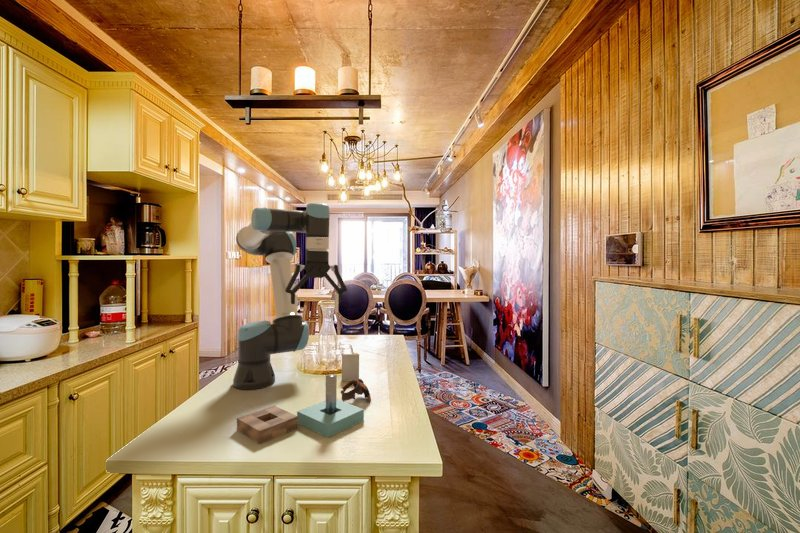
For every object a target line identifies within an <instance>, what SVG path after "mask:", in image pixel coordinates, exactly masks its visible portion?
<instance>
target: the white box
mask: <svg viewBox="0 0 800 533" xmlns="http://www.w3.org/2000/svg"><path fill="white" fill-rule="evenodd" d="M358 379H360V354H359V353H342V356H341V381H352V380H358Z"/></svg>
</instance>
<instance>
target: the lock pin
mask: <svg viewBox="0 0 800 533" xmlns="http://www.w3.org/2000/svg"><path fill="white" fill-rule="evenodd" d="M337 384H338V383H337V374H334V373H333V374H332V373H331V374H327V375H325V401H326V414H328V415H331V414H334V413H336V399H337Z"/></svg>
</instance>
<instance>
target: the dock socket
mask: <svg viewBox="0 0 800 533" xmlns="http://www.w3.org/2000/svg"><path fill="white" fill-rule="evenodd" d="M364 411H365V409H364V408H361V407H359V406H356V405H353V404H351V403H348V402H345V401H343V400H340V399H337V398H336V413H334V414H331V415H328V414H326V400H324V401H321V402H317V403H315V404H313V405H310V406H307V407H306V408H303V409H299V410H297V411H296V416H298V425H301V426H303V427H305V428H307V429H309V430H311V431H313V432H315V433H318V434H319V435H321V436H324V437H326V438H330V437H332V436H334V435H337V434H339V433H341V432H343V431H345V430H347V429H349V428H351V427H353V426H356V425H357V424H360V423H362V422H364V417H365V416H364V415H365V412H364Z"/></svg>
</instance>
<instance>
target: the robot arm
mask: <svg viewBox="0 0 800 533" xmlns="http://www.w3.org/2000/svg"><path fill="white" fill-rule="evenodd" d="M330 217H331V214H330V206H329V205H328V204H326V203H320V202H319V203H318V202H310V203H307V205H306V209H305V210H295V209H294V210H293V209H282V208H281V209H279V208H278V209H277V208H269V207H268V208H267V207H255V208H254V209H253V210H252V213H251V218H250V219H251V222H250V224H248V226H245V227H241V229H240V230H239V231H237V233H236V236H235V240H236V244H237V247H238V248H239V249H241V251H243V252H244V253H246V254H248V255H253V256H263V257H264V258H265V261H266V262H267V263H268V264H269V268H270V275H271V284H272V293H273V301H274V310H275V317H274V318H273V319H272V324H271V322H270V321H269V320H256V321H251V322H248V323H245V324H243V325H241V326H239V328H238V332H237V359H238V360H237V367H236V369H235V370H236V371H235V373H234V376H233V379H232V386H233V387H234V388H235V389H238V390H250V391H251V390H257V389H259V390H260V389H263V388H267V387H269V386H272V385H273V384H274V383H275V382H276V375H275V371H274V369H273V366H272V363H271V355H274V354H275V355H277V354H283V353H290V352H293V353H294V352H297V351H302V350H305V349H306V347H307V345H308V343H309V340H310V339H309V338H310V326H309V323H308V321H306V320H303V316H302V314H300V313H299V312H298V294H297V292H298V291H299V290H300V289H301V287H302V286H303V285H304V284H305V283H306V281H308V280H309V279H310V278H312V279H317V278H318V279H322V278H325V280H326V281H328V283H329V284H330V285H331V287H332V288H333V289H334V290H335V291H336V292H334V313H336V314H339V304H340V303H342V294H344V293H346V292H348V288H347V286H346V285H345V281H344V280H343V278H342V276H341V273H340V271H339V265H337V264H331V265H330V264H329V262H330V261H329V258H330V257H329V256H330V255H329V253H330V252H329V251H328V250H329V249H330V248H329V247H330V246H329V245H330V236H329V235H330ZM294 233H302V234H303V233H304V234H305V250H306V251H305V263H304V264H299V263H297V264H295V270H294V273H293V272H292V264H291V261H292V260H293V258H294V256H295V255H296V253H297V239H296V236H295V234H294ZM302 270H305V272H306V273H304V275H303V277H302V278H301V279H300V280H299V281H298V282H297V283H296V284H295V285H294V283H295V282H296V280H297V279H298V276H299V274H300V273H301V272H302ZM330 270H331V272H333V273H334V276H335V278H336V280H337V282H338V284H339V286H340V287H339V286H338V285H337V284H336V283H335V281H334V280H333V278H331V276H330V275H329V274H328V272H329V271H330Z"/></svg>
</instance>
